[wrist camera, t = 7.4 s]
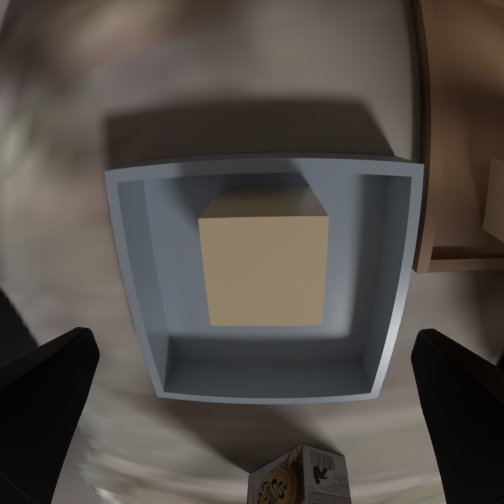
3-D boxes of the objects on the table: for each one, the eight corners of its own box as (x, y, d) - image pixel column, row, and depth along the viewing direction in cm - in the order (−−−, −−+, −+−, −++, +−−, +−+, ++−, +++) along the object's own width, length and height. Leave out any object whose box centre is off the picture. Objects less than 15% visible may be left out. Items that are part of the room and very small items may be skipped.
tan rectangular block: (308, 267, 17) (321, 325, 12) (227, 267, 17) (210, 325, 12) (310, 186, 15) (328, 216, 10) (222, 188, 16) (198, 218, 11)
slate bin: (366, 363, 20) (377, 398, 17) (170, 362, 21) (157, 396, 18) (395, 156, 15) (424, 164, 12) (134, 161, 16) (104, 170, 13)
